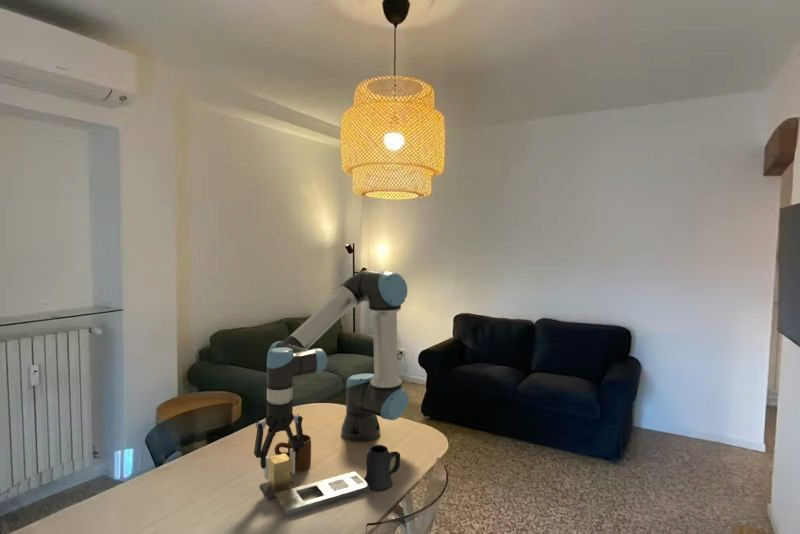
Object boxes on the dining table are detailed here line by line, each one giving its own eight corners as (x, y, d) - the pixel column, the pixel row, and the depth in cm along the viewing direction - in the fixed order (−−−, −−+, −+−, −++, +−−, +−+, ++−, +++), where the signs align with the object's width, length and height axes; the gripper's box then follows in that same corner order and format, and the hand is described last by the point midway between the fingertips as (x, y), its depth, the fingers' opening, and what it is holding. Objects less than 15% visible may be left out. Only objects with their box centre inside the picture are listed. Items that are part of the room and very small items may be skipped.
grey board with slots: (354, 477, 149) (355, 471, 149) (369, 492, 141) (369, 485, 141) (274, 500, 135) (274, 493, 135) (285, 517, 127) (285, 510, 127)
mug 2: (371, 494, 139) (372, 458, 139) (358, 480, 147) (359, 446, 147) (405, 484, 146) (406, 449, 145) (391, 471, 153) (392, 438, 153)
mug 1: (276, 476, 149) (276, 447, 148) (272, 465, 156) (272, 438, 155) (313, 469, 154) (313, 441, 153) (307, 459, 161) (307, 432, 160)
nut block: (285, 481, 145) (285, 453, 144) (290, 488, 140) (290, 459, 140) (269, 485, 142) (269, 456, 141) (273, 493, 138) (274, 463, 137)
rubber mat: (288, 478, 147) (288, 476, 147) (298, 492, 140) (298, 490, 140) (260, 486, 143) (260, 484, 143) (268, 500, 135) (268, 498, 135)
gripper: (307, 391, 148) (306, 461, 149) (242, 402, 137) (242, 477, 139) (316, 398, 142) (315, 471, 143) (248, 410, 131) (248, 489, 132)
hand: (279, 474), depth 141 cm, fingers open, 7 cm apart
